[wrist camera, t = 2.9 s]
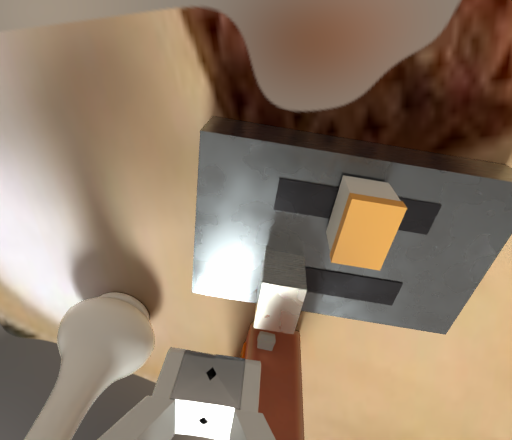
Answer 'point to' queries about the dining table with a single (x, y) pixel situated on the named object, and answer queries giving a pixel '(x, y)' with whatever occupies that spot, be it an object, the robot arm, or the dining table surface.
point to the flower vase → (93, 359)
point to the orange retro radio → (278, 380)
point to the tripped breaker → (363, 222)
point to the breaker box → (317, 219)
